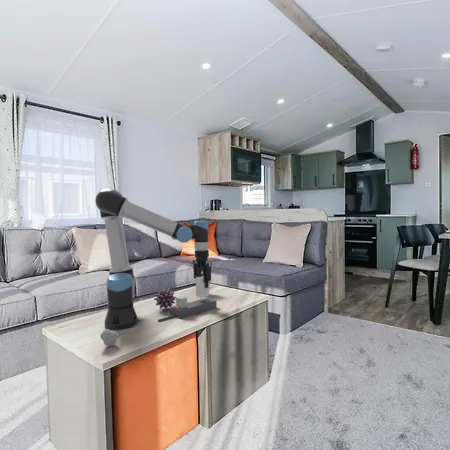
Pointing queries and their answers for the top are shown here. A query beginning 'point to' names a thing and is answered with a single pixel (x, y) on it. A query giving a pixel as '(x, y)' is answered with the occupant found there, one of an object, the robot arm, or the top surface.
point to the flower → (165, 298)
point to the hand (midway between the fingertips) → (202, 292)
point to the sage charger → (181, 302)
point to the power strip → (192, 308)
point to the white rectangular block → (200, 287)
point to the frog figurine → (109, 337)
